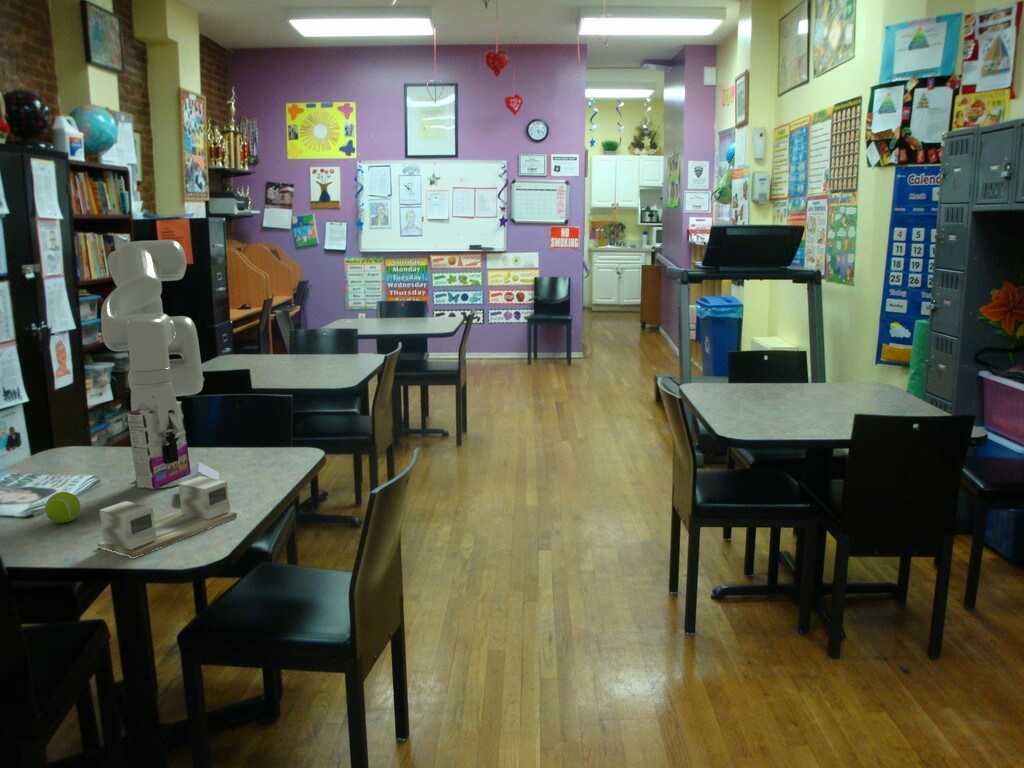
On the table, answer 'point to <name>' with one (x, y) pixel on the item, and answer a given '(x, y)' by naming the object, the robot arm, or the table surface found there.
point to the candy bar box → (155, 451)
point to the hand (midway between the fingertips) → (161, 459)
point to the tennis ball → (62, 507)
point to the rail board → (139, 534)
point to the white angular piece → (201, 472)
